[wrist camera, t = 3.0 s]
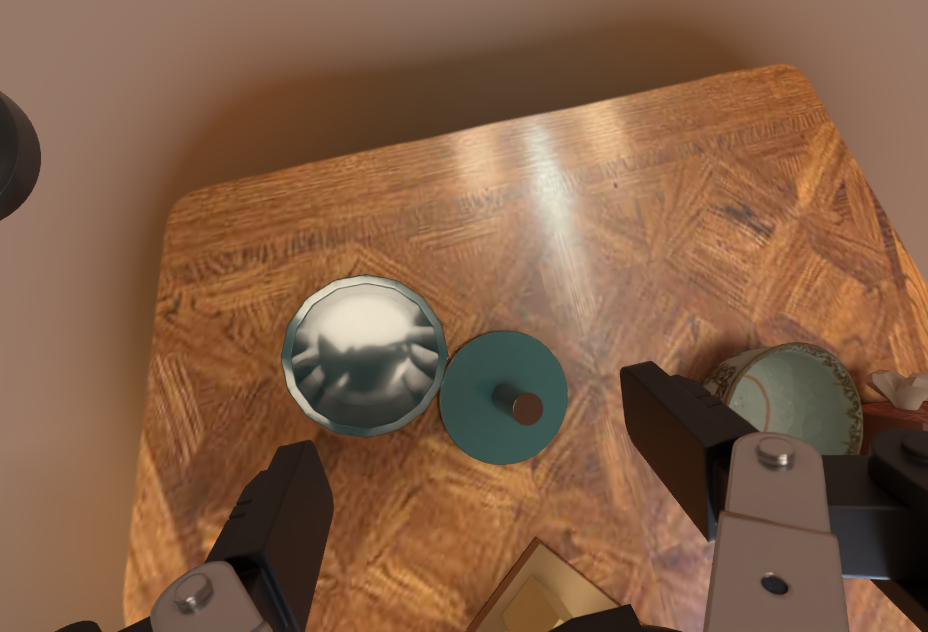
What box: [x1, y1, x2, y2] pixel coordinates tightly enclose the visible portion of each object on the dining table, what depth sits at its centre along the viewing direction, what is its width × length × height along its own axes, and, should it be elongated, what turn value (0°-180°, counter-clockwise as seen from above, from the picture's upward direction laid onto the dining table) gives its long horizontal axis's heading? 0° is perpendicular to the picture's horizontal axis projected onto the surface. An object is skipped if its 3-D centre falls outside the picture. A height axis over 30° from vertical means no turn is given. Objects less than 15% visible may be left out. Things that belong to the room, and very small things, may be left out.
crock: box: [281, 274, 448, 438], centre depth 34 cm, size 10×10×8 cm
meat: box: [859, 370, 928, 455], centre depth 43 cm, size 20×12×10 cm, turn 6°
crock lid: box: [439, 331, 567, 465], centre depth 37 cm, size 11×11×7 cm
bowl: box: [702, 342, 863, 455], centre depth 41 cm, size 14×13×8 cm
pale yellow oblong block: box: [502, 576, 574, 632], centre depth 36 cm, size 3×4×6 cm
